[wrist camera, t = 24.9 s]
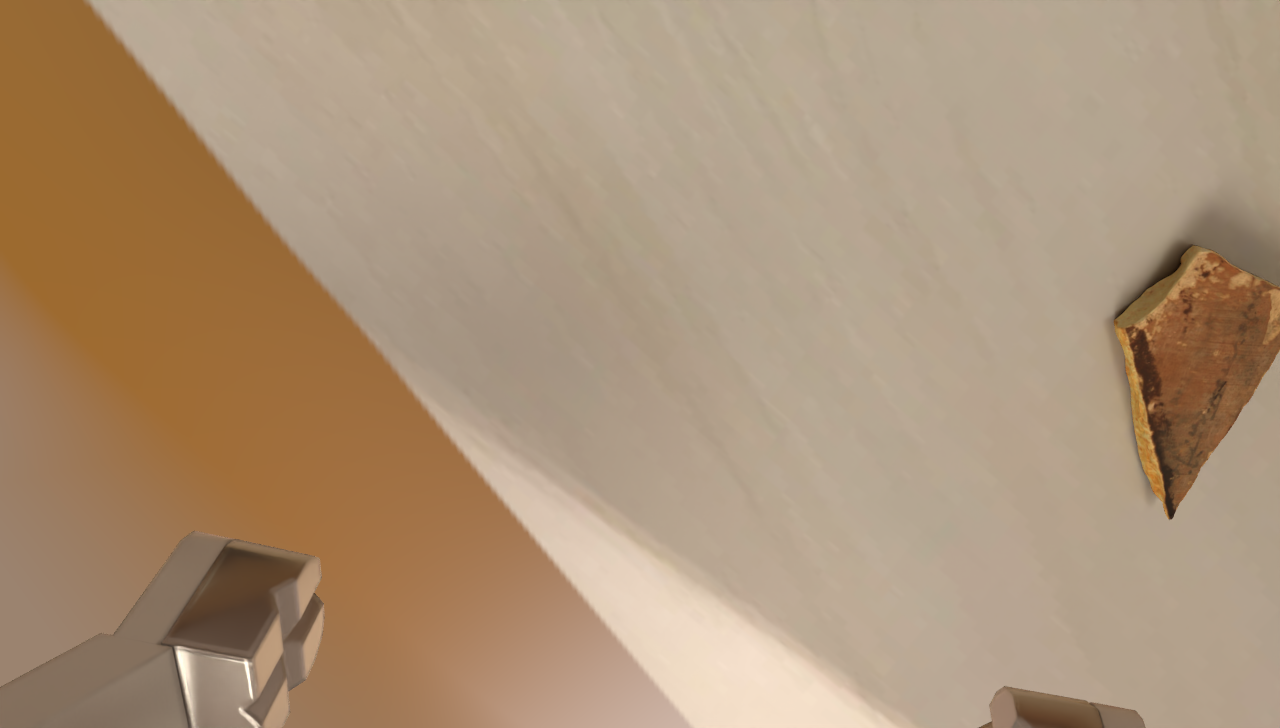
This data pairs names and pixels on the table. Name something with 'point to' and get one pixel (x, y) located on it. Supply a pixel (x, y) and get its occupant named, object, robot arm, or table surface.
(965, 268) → the table surface
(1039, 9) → the table surface
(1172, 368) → the shard
